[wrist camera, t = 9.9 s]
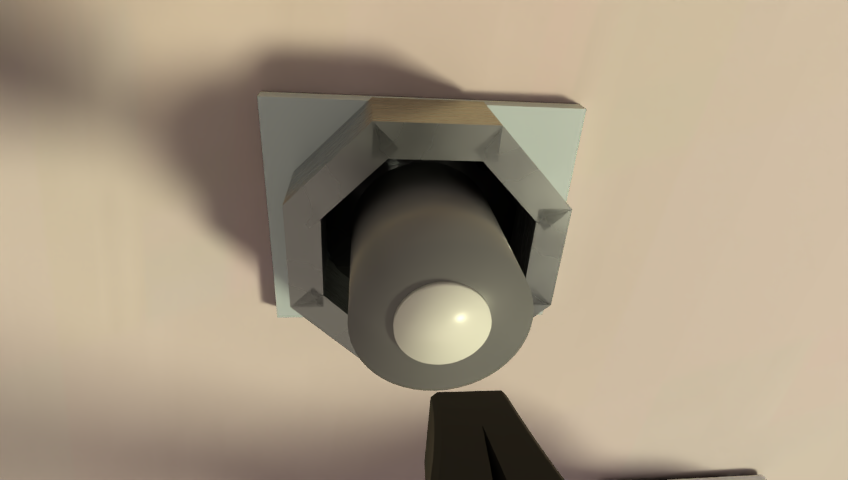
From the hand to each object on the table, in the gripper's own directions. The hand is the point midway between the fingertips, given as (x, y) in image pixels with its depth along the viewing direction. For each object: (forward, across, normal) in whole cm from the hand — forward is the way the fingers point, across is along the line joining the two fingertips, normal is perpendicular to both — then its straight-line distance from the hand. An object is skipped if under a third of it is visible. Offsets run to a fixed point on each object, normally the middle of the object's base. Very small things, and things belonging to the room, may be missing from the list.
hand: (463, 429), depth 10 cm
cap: (+8, 0, 0) cm, 8 cm away
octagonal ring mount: (+9, 0, 0) cm, 9 cm away
